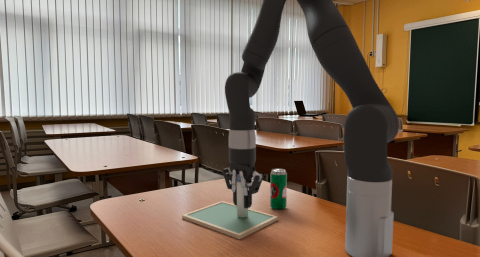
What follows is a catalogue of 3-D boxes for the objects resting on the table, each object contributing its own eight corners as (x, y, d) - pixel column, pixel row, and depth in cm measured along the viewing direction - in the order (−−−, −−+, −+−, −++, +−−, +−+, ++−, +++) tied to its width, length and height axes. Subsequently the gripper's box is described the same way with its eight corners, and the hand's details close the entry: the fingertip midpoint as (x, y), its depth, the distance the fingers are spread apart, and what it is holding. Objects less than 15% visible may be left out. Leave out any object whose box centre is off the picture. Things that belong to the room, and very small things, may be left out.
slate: (277, 220, 96) (277, 216, 96) (239, 239, 84) (239, 235, 84) (222, 204, 110) (222, 201, 110) (182, 218, 98) (182, 215, 98)
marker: (250, 214, 97) (250, 173, 95) (243, 218, 94) (243, 175, 93) (241, 212, 99) (241, 171, 98) (234, 215, 96) (233, 173, 95)
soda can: (285, 211, 104) (286, 172, 102) (269, 209, 105) (269, 171, 103) (286, 205, 109) (287, 168, 107) (271, 204, 110) (271, 167, 108)
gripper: (270, 146, 93) (270, 208, 94) (232, 141, 102) (232, 198, 104) (253, 150, 87) (253, 215, 89) (214, 144, 96) (215, 204, 98)
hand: (242, 205), depth 96 cm, fingers closed on marker, 3 cm apart
